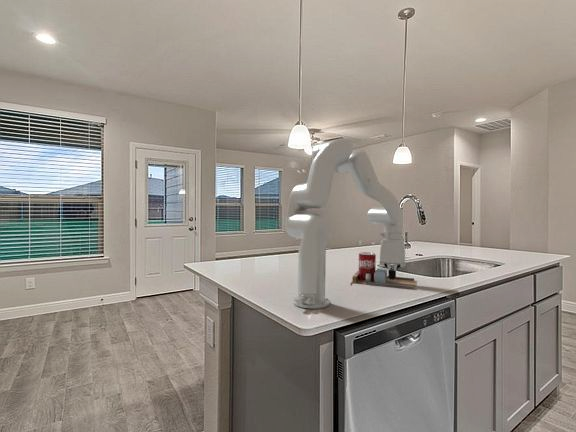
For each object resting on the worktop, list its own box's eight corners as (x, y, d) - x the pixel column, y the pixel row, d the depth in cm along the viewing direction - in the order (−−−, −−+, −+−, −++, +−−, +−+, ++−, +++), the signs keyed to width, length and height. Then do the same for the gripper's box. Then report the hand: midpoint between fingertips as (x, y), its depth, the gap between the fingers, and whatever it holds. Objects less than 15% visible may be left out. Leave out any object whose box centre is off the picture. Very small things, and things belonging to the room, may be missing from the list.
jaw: (384, 285, 132) (385, 273, 132) (373, 283, 134) (373, 272, 134) (387, 279, 142) (387, 268, 142) (376, 278, 144) (377, 267, 144)
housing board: (416, 292, 125) (416, 279, 125) (350, 286, 135) (350, 273, 135) (416, 283, 140) (416, 271, 140) (357, 277, 150) (357, 266, 150)
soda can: (376, 282, 136) (376, 254, 135) (358, 281, 137) (359, 254, 137) (374, 278, 143) (375, 252, 142) (358, 278, 144) (358, 251, 144)
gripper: (373, 236, 135) (372, 279, 135) (411, 238, 129) (410, 283, 130) (376, 235, 142) (375, 275, 142) (411, 236, 136) (410, 279, 137)
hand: (391, 279), depth 136 cm, fingers closed
